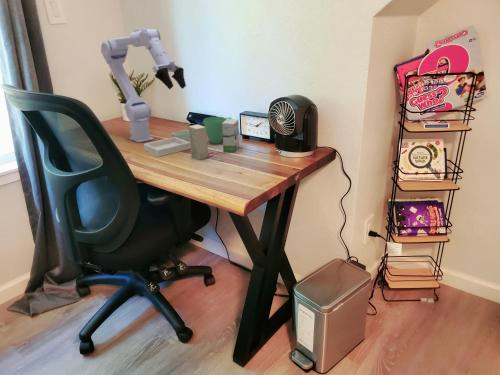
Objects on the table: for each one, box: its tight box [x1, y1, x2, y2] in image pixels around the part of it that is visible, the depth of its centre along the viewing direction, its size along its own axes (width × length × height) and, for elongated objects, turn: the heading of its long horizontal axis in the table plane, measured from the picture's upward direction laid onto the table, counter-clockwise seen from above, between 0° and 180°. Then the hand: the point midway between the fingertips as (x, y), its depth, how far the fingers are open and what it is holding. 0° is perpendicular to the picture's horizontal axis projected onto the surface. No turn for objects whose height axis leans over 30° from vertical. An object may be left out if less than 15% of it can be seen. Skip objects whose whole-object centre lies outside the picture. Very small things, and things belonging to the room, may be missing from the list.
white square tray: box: [143, 137, 191, 157], centre depth 162 cm, size 12×15×2 cm
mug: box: [203, 116, 233, 145], centre depth 170 cm, size 15×10×10 cm
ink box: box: [222, 118, 240, 153], centre depth 158 cm, size 9×5×12 cm, turn 168°
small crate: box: [170, 129, 190, 141], centre depth 175 cm, size 5×8×4 cm, turn 131°
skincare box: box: [188, 124, 209, 161], centre depth 150 cm, size 6×4×12 cm
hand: (177, 87), depth 151 cm, fingers open, 7 cm apart
